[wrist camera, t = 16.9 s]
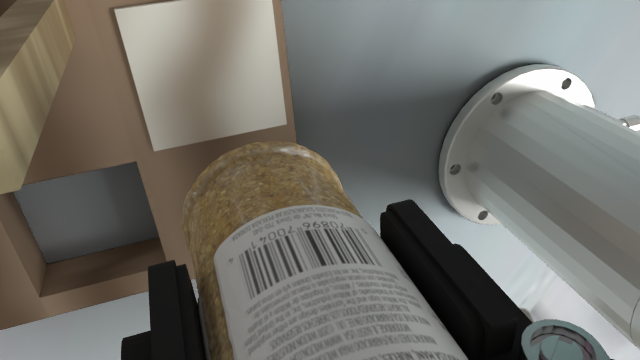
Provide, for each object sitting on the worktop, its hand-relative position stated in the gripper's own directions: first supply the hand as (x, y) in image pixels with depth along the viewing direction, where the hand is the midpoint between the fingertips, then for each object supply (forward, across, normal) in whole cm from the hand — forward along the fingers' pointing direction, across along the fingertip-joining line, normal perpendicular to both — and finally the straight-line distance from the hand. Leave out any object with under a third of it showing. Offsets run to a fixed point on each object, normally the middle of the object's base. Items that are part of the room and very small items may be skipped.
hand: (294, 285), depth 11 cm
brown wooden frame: (+19, +6, +4) cm, 20 cm away
